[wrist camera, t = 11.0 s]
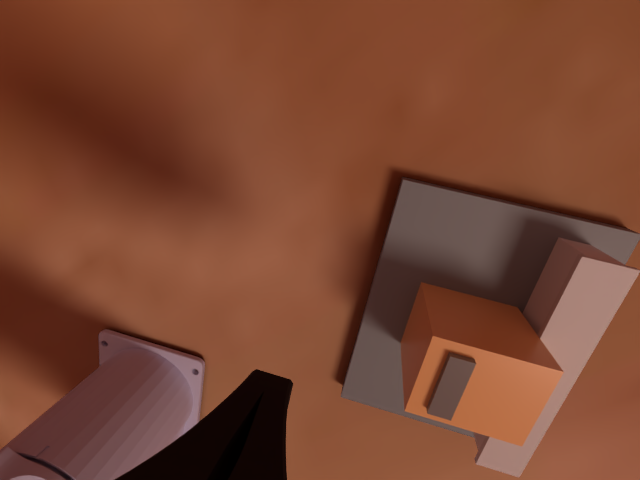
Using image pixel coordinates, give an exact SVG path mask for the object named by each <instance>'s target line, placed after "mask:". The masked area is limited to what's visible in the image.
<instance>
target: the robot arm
mask: <svg viewBox="0 0 640 480" xmlns="http://www.w3.org/2000/svg"><path fill="white" fill-rule="evenodd" d="M195 369H196V370H195ZM204 369H205V362H204V361H203V360H202V359H201V358H199V357H196V356H193V355H190V354H187V353H183V352H180V351H177V350H173V349H170V348H167V347H164V346H160V345H157V344H154V343H151V342H147V341H144V340H141V339H137V338H134V337H131V336H128V335H124V334H121V333H118V332H115V331H111V330H108V329H104V330H103V331H101V332H100V333H99V367H98V368H97V369H96V370H95V371H94V372H92V373H91V374H90V375H89V376H88V377H86V378H85V379H84V380H83V381H82V382H80V383H79V384H78V385H77V386H76V387H75V388H73V389H72V390H71V391H70V392H69V393H67V394H66V395H65V396H64V397H63V398H61V399H60V400H59V401H58V402H57V403H55V404H54V405H53V406H52V407H51V408H49V409H48V410H47V411H46V412H45V413H44V414H42V415H41V416H40V417H39V418H38V419H36V420H35V421H34V422H33V423H32V424H30V425H29V426H28V427H27V428H26V429H24V430H23V431H22V432H21V433H20V434H19V435H17V436H16V437H15V438H14V439H13V440H11V441H10V442H9V443H8V444H7V445H5V446H4V447H3V448H2V449H1V450H0V480H287V473H286V418H287V409H288V404H289V400H290V395H291V391H292V386H293V383H292V381H291V380H290V379H287V378H283V377H280V376H277V375H273V374H270V373H267V372H264V371H260V370H257V369H256V370H254V371H253V372H252V373H251V374H250V375H249V376H248V377H247V378H246V379H245V380H244V381H243V383H242V384H241V385H240V386H239V387H238V388H237V389H236V390H235V391H233V392H232V393H231V394H230V395H229V396H228V397H227V398H226V399H225V400H224V401H223V402H222V403H221V404H219V405H218V406H217V407H216V408H215V409H214V410H213V411H212V412H210V413H209V414H208V415H207V416H206V417H204V418H203V419H202V420H201V421H199V418H200V408H201V398H202V388H203V379H204ZM197 370H198V371H197Z"/></svg>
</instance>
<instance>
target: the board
mask: <svg viewBox="0 0 640 480" xmlns="http://www.w3.org/2000/svg"><path fill="white" fill-rule="evenodd" d="M639 239H640V234H639V233H637V232H634V231H632V230H630V229H627V228H623V227H619V226H614V225H610V224H606V223H601V222H597V221H592V220H588V219H584V218H579V217H575V216H571V215H566V214H562V213H558V212H553V211H549V210H545V209H540V208H536V207H532V206H527V205H523V204H519V203H514V202H510V201H505V200H501V199H497V198H492V197H488V196H484V195H479V194H475V193H471V192H466V191H462V190H458V189H453V188H449V187H445V186H440V185H436V184H432V183H427V182H423V181H419V180H414V179H410V178H405V177H402V180H401V183H400V187H399V190H398V194H397V197H396V201H395V204H394V208H393V211H392V215H391V218H390V222H389V225H388V229H387V232H386V236H385V239H384V243H383V246H382V250H381V253H380V257H379V260H378V264H377V267H376V271H375V274H374V278H373V281H372V285H371V288H370V292H369V295H368V299H367V302H366V306H365V309H364V313H363V316H362V320H361V323H360V327H359V330H358V334H357V337H356V341H355V344H354V348H353V351H352V355H351V358H350V362H349V365H348V369H347V372H346V376H345V379H344V383H343V387H342V393H341V397H343V398H346V399H349V400H352V401H356V402H359V403H362V404H366V405H369V406H372V407H375V408H379V409H382V410H385V411H389V412H392V413H395V414H398V415H402V416H405V417H408V418H412V419H415V420H418V421H421V422H425V423H428V424H431V425H435V426H438V427H441V428H444V429H448V430H451V431H454V432H458V433H461V434H464V435H467V436H471V437H474V438H475V441H476V444H477V448H478V453H477V455H476V457H475V463H476V464H477V465H481V466H484V467H487V468H490V469H493V470H497V471H500V472H503V473H506V474H509V475H513V476H516V477H520V475H521V473H522V472H523V470H524V468H525V467H526V465H527V463H528V462H529V460H530V458H531V456H532V455H533V453H534V451H535V450H536V448H537V446H538V445H539V443H540V441H541V439H542V438H543V436H544V434H545V433H546V431H547V429H548V427H549V426H550V424H551V422H552V421H553V419H554V417H555V416H556V414H557V412H558V410H559V409H560V407H561V405H562V404H563V402H564V400H565V399H566V397H567V395H568V393H569V392H570V390H571V388H572V387H573V385H574V383H575V381H576V380H577V378H578V376H579V375H580V373H581V371H582V370H583V368H584V366H585V364H586V363H587V361H588V359H589V358H590V356H591V354H592V352H593V351H594V349H595V347H596V346H597V344H598V342H599V341H600V339H601V337H602V335H603V334H604V332H605V330H606V329H607V327H608V325H609V324H610V322H611V320H612V318H613V317H614V315H615V313H616V312H617V310H618V308H619V306H620V305H621V303H622V301H623V300H624V298H625V296H626V295H627V293H628V291H629V289H630V288H631V286H632V284H633V283H634V281H635V279H636V278H637V276H638V274H639V272H640V270H638V269H637V268H634V267H630V266H626V265H625V264H626V262H627V261H628V259H629V257H630V255H631V254H632V252H633V250H634V248H635V247H636V245H637V243H638V241H639ZM421 282H422V283H426V284H430V285H434V286H438V287H442V288H446V289H449V290H453V291H457V292H461V293H465V294H469V295H473V296H476V297H480V298H484V299H488V300H492V301H496V302H499V303H503V304H507V305H511V306H515V307H518V309H519V310H520V311H521V313H522V314H523V316H524V317H525V318H526V320H527V321H528V323H529V324H530V325H531V327H532V328H533V330H534V331H535V332H536V334H537V335H538V337H539V338H540V339H541V341H542V342H543V344H544V345H545V346H546V348H547V349H548V350H549V352H550V353H551V355H552V356H553V357H554V359H555V360H556V362H557V363H558V364H559V366H560V367H561V369H562V370H563V371H564V373H563V375H562V377H561V378H560V380H559V382H558V384H557V385H556V387H555V389H554V391H553V393H552V394H551V396H550V398H549V400H548V401H547V403H546V405H545V407H544V409H543V410H542V412H541V414H540V416H539V417H538V419H537V421H536V423H535V425H534V426H533V428H532V430H531V432H530V433H529V435H528V437H527V439H526V441H525V442H524V444H523V446H518V445H515V444H512V443H508V442H505V441H502V440H498V439H495V438H492V437H488V436H485V435H482V434H478V433H475V432H472V431H469V430H465V429H462V428H459V427H455V426H452V425H449V424H445V423H442V422H439V421H435V420H432V419H429V418H425V417H422V416H419V415H416V414H412V413H409V412H406V411H405V410H404V394H403V378H402V361H401V345H400V343H401V340H402V337H403V334H404V331H405V328H406V325H407V322H408V319H409V317H410V314H411V311H412V308H413V305H414V302H415V299H416V296H417V293H418V290H419V287H420V284H421Z"/></svg>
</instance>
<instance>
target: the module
mask: <svg viewBox="0 0 640 480" xmlns="http://www.w3.org/2000/svg"><path fill="white" fill-rule="evenodd" d="M400 345H401V361H402V378H403V394H404V410H405V411H406V412H409V413H412V414H416V415H419V416H422V417H425V418H429V419H432V420H435V421H439V422H442V423H445V424H449V425H452V426H455V427H459V428H462V429H465V430H469V431H472V432H475V433H478V434H482V435H485V436H488V437H492V438H495V439H498V440H502V441H505V442H508V443H512V444H515V445H518V446H523V444H524V442H525V441H526V439H527V437H528V435H529V433H530V432H531V430H532V428H533V426H534V425H535V423H536V421H537V419H538V417H539V416H540V414H541V412H542V410H543V409H544V407H545V405H546V403H547V401H548V400H549V398H550V396H551V394H552V393H553V391H554V389H555V387H556V385H557V384H558V382H559V380H560V378H561V377H562V375H563V373H564V371H563V370H562V369H561V367H560V366H559V364H558V363H557V362H556V360H555V359H554V357H553V356H552V355H551V353H550V352H549V350H548V349H547V348H546V346H545V345H544V344H543V342H542V341H541V339H540V338H539V337H538V335H537V334H536V332H535V331H534V330H533V328H532V327H531V325H530V324H529V323H528V321H527V320H526V318H525V317H524V316H523V314H522V313H521V311H520V310H519V309H518V307H515V306H511V305H507V304H503V303H499V302H496V301H492V300H488V299H484V298H480V297H476V296H473V295H469V294H465V293H461V292H457V291H453V290H449V289H446V288H442V287H438V286H434V285H430V284H426V283H422V282H421V284H420V287H419V290H418V293H417V296H416V299H415V302H414V305H413V308H412V311H411V314H410V317H409V319H408V322H407V325H406V328H405V331H404V334H403V337H402V340H401V343H400Z"/></svg>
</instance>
